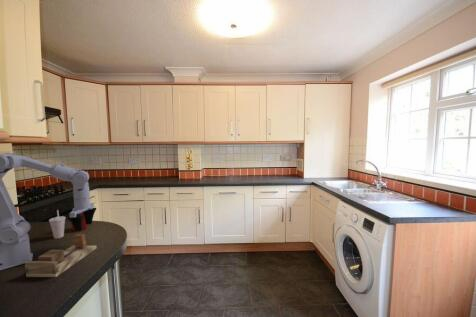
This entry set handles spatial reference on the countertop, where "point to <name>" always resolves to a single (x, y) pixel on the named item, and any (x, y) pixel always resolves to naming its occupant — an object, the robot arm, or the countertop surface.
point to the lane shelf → (56, 263)
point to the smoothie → (57, 226)
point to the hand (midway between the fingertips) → (84, 227)
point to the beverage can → (82, 224)
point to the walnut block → (59, 254)
